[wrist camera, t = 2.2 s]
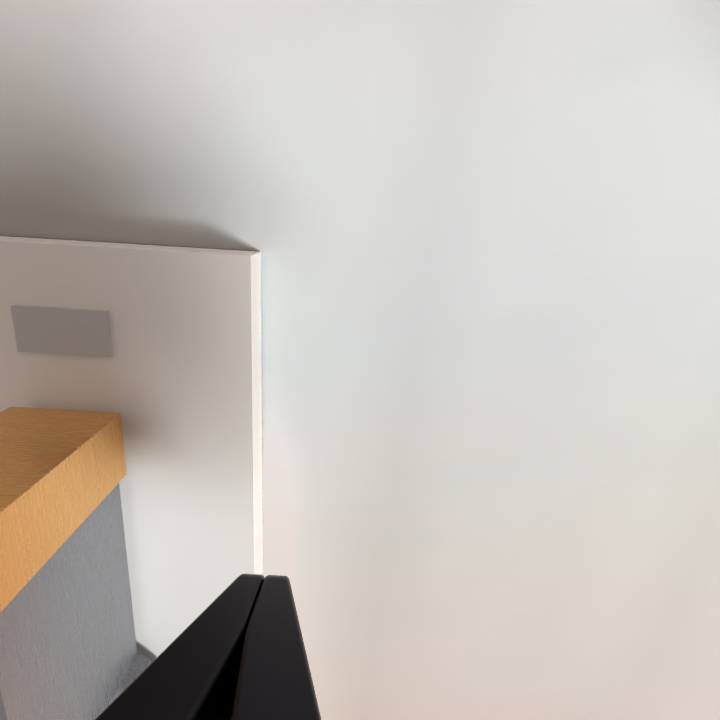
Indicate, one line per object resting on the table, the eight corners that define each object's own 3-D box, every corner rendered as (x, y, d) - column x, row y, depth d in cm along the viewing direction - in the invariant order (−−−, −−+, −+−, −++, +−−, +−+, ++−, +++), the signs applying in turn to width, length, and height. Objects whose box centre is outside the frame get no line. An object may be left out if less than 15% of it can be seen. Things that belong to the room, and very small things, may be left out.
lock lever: (183, 755, 14) (110, 966, 10) (42, 746, 14) (-85, 954, 10) (157, 415, 11) (36, 534, 7) (-26, 404, 11) (-252, 516, 7)
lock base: (263, 840, 17) (256, 882, 16) (-139, 815, 17) (-173, 855, 16) (261, 251, 11) (249, 256, 10) (-368, 213, 11) (-448, 214, 10)
